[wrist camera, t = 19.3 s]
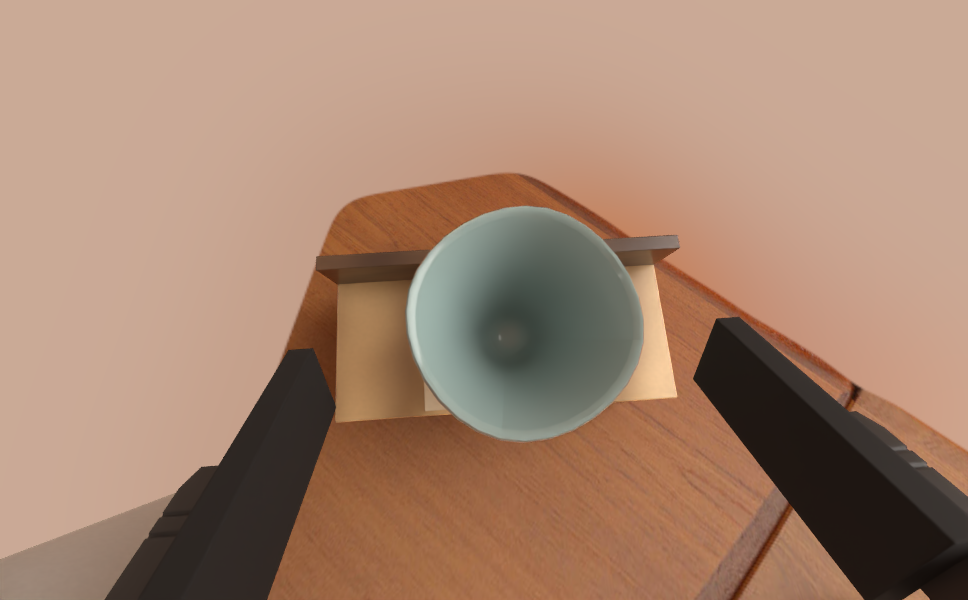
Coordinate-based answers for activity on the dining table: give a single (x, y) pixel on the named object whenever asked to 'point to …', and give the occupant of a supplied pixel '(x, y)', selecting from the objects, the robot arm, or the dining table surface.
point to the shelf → (385, 349)
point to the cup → (524, 324)
